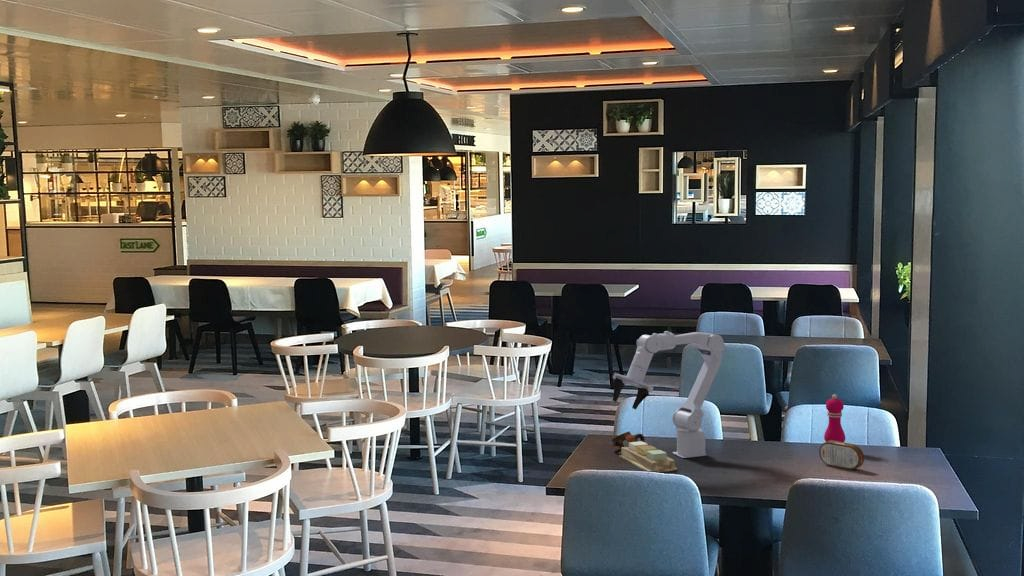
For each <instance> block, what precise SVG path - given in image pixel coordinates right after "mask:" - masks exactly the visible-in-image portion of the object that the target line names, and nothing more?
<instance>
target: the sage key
mask: <svg viewBox="0 0 1024 576" xmlns="http://www.w3.org/2000/svg"><path fill="white" fill-rule="evenodd" d="M667 457H668V454H667V452H666V451H663V450H661V449H657V450H653V451H647V458H648V459H650V460H652V461H657V460H666V459H667Z"/></svg>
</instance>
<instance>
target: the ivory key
mask: <svg viewBox="0 0 1024 576" xmlns="http://www.w3.org/2000/svg"><path fill="white" fill-rule="evenodd" d="M640 446H649V444H648V443H647V442H645V441H644V442H642V441H640V440H639V441H638V442H628V447H629V449H630V450H632V451H634V452H638V449H637V447H640Z"/></svg>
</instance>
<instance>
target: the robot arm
mask: <svg viewBox="0 0 1024 576" xmlns="http://www.w3.org/2000/svg"><path fill="white" fill-rule="evenodd" d="M687 344H688V345H689V344H692V345H694V347H695V348H696V350H697V351H698V353H699V354H700V355H701V357H702V359H703V361H704V362H703V364H702V366H701V368H700V371H699V372H698V374H697V377H696V380H694V381H695V382H694V383H693V386H692V388H691V390H690V392H689V394H688V397H687V399H686V401H685V402H683V403H681V404H679V407H678V408H677V409H676V410H675V411H674V413H673V415H672V422H673V424H674V426H675V429H676V451H672V454H673V455H675V456H677V457H679V458H681V459H685V458H696V457H706V456H707V454H706V435H705V432H704V431H703V430H702V429H701V427H702V424H703V422H702V421H703V420H702V419H703V417H704V412H703V409H702V406H703V404H704V402H705V400H706V397H707V395H708V393H709V390H710V388H711V386H712V383H713V381H714V379H715V378H716V375H717V373H718V371H719V368H720V367H721V364H722V357H723V351H724V349H725V347H726V345H725V341H724V339H723V337H722V336H721V335H720V334H716V333H715V334H714V333H713V334H712V333H708V332H707V333H706V332H703V331H702V332H700V331H699V332H697V331H694V332H693V331H692V332H688V333H682V334H677V335H675V334H674V333H672V332H670V331H668V330H665V331H663V333H656V332H654V333H652V334H651V335H649V334H642V335H641V336H639V338H638V339H636V350H635V354H634V355H633V359H632V361H631V364H630V366H629V370H628V371H627V374H626V375H624V374H620V373H617V372H614V374H613V375H612V379H613V381H612V382H613V397H612V401H613V402H615V403H617V402H618V400H619V398H620V394H621V392H622V390H623V388H624V387H625V386H626V384H628V385H631V386H633V387H636V388H638V389H637V393H636V396H635V400H634V402H633V404H632V409H634V410H637V408H639V406H640V404H641V403H642V401H644V400H645V399H646V398H647V397H648V396H649V395H650V393H653V391H654V386H652V385H650V384H648V383H645V382H644V379H645V377H646V374H647V371H648V369H649V366H650V363H651V361H652V359H653V356H654V354H656V353H658V352H660V351H666V350H673V349H674V348H676V346H677V345H687Z"/></svg>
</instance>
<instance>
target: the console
mask: <svg viewBox="0 0 1024 576" xmlns="http://www.w3.org/2000/svg"><path fill="white" fill-rule="evenodd" d="M620 450H621V452H620V453H621V455H620V454H619V456H618V457H619V458H620V459H623V460H624V461H625V462H628V463H630V464H632V465H633V466H635V467H637V468H638V469H641V470H643V471H645V470H646V471H645V472H647V471H657V472H656V473H664V472H673V471H678V468H677V467H676V460H675V459H673V458H672V457H669V456H667V459H666V460H657V461H652V460H650V459H648V458H647V456H642V455H640V454H638V452H634V451H632V450H630V449H629V446H628V447H627V446H624V447H621V449H620Z"/></svg>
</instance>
